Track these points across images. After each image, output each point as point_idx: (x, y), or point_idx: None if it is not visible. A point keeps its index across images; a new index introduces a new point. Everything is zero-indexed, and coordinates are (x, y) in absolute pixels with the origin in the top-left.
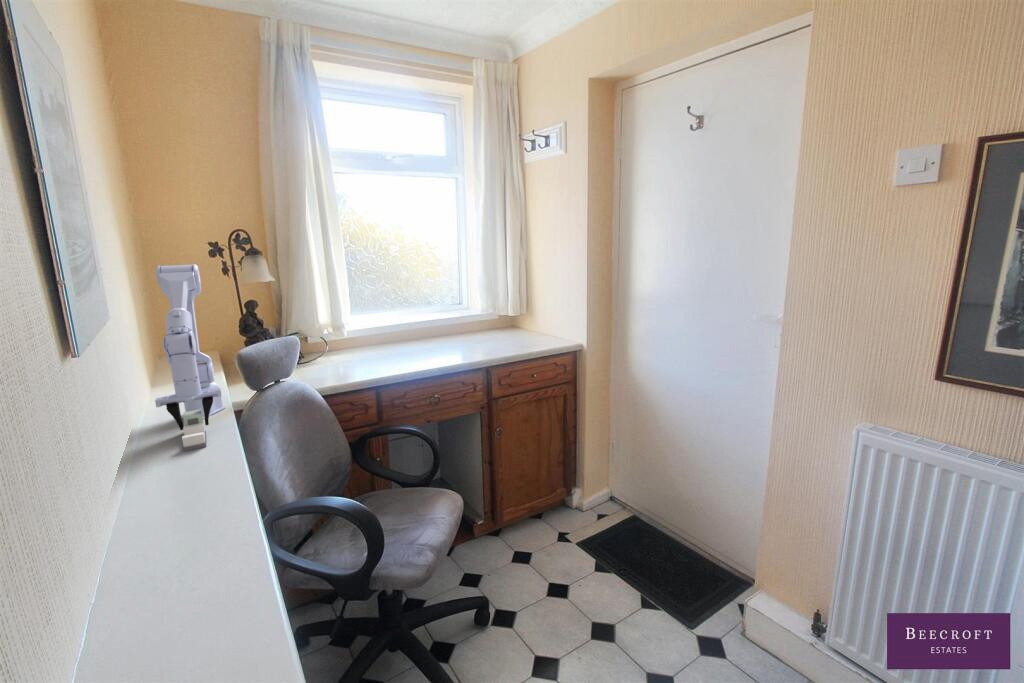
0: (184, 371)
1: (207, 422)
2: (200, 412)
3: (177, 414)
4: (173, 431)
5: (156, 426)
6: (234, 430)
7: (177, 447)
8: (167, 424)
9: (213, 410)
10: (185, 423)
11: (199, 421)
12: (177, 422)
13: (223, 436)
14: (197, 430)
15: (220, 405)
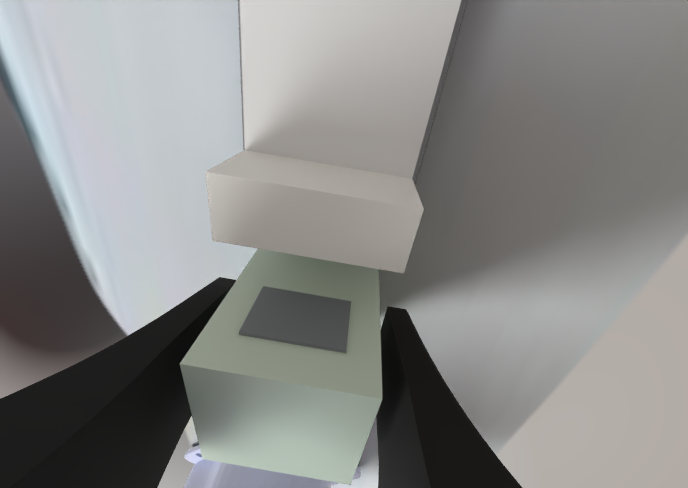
0: None
1: (207, 286)
2: (193, 400)
3: (446, 467)
4: None
5: None
6: (62, 133)
7: (499, 53)
8: None
9: None
10: (369, 325)
11: (250, 298)
12: (434, 366)
13: (120, 40)
14: (292, 164)
15: (195, 471)
